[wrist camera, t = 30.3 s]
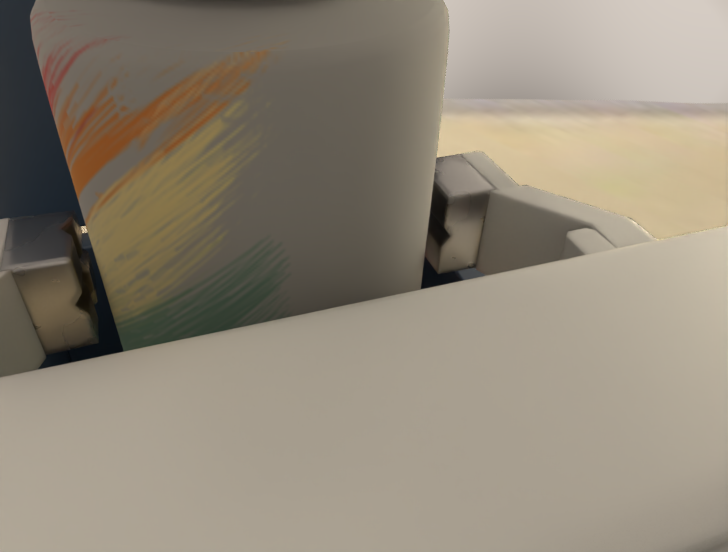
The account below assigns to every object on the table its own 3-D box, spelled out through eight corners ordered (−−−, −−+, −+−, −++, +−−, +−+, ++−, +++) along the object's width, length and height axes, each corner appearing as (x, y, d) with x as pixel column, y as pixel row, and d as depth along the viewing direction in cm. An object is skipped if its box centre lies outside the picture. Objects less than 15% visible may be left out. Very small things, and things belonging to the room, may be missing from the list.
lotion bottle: (371, 451, 20) (436, -469, 8) (406, 633, 16) (673, -781, 4) (198, 471, 20) (-36, -520, 7) (184, 668, 15) (-476, -997, 3)
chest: (571, 663, 16) (674, 504, 12) (66, 881, 13) (-96, 785, 8) (396, 344, 26) (412, 181, 21) (73, 420, 22) (0, 244, 17)
